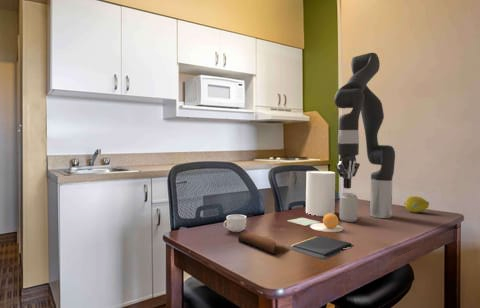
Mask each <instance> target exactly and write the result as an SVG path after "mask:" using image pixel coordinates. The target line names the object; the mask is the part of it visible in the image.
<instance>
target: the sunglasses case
mask: <svg viewBox="0 0 480 308" xmlns="http://www.w3.org/2000/svg"><path fill="white" fill-rule="evenodd" d="M237 239H238V242H242V243H245V244H247V245H248V244H249V245H252V246H255V247H257V248H258V249H261V250H263V251H265V252H269V253H271V254H273V255H274V256H278V255H281V254H284V253H287V252H290V251H292V250H290V249H289V248H287V247H288V246H286V245H284V244H282V243H280V242H279V241H277V240H276V241H275V240H274V238H273V237H270V236H267V235H264V234H261V233H258V232H254V231H241V232H239V235H238V237H237Z"/></svg>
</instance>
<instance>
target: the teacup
mask: <svg viewBox="0 0 480 308" xmlns="http://www.w3.org/2000/svg"><path fill="white" fill-rule="evenodd" d="M222 225H223V228H225V229H228V230H229V231H230V232H232V233H241V232H244V231H245V228H246V226H247V215H244V214H229V215H227V216H226V220H224V222H223V224H222Z"/></svg>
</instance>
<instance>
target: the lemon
mask: <svg viewBox="0 0 480 308" xmlns="http://www.w3.org/2000/svg"><path fill="white" fill-rule="evenodd" d="M404 205H405V208H406V209H407V210H408V211H409V212H411V213H416V214H417V213H422V212H424V211H425V210H426V209H428V208H429V206H430V202H429V201H427V200H426V199H424V198H422V197H421V196H416V195H415V196H413V195H412V196H409V197H408V198H407V199H406V201H404Z"/></svg>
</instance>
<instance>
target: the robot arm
mask: <svg viewBox="0 0 480 308" xmlns="http://www.w3.org/2000/svg"><path fill="white" fill-rule="evenodd" d="M350 65H351V66H350V67H351V72H352V75H351V77H350V78H349V79H348V81H347V82H346V83H345V84H344V85H343V86H341V87H340V88H339V89H338V90H337V91H336V92H335V95H334V98H333V101H334V104H335V106H336V107H337V108H339V109H351V111H350V112H348V113H346V114H342V115H340V116H339V118H338V134H337V155H338V156H339V161H338V163H336V164H335V165H334V167H335V169H336V170H337V173H338V176H339V177H340V178H342V179H343V188H344V189H352V179H353V178H354V177H356V174H357V173H358V170H359V167H360V164H361V163H360V162H359V163H358V162H357V158H356V156H359V154H360V153H359V149H360V146H359V144H360V133H359V124H360V123H359V122H360V121H359V120H360V115H361V119H362V123H363V129H364V135H365V145H366V155H367V159H368V161H369V163H370V164H372V165H375V166H377V165H379V166H380V169H379V170H377V171H374V172H372V173H371V174H370V197H369V198H370V202H369V203H370V204H369V206H370V207H369V216H371V217H374V218H380V219H390V218H392V216H393V176H394V173H395V160H396V153H395V152H396V151H395V148H394V147H393V146H392V145H390V144H389V145H387V144H385V145H384V144H382V145H381V144H379V139H378V136H379V135H378V134H379V132H380V131H379V130H380V129H381V126H382V124H383V121H384V117H385V116H384V115H385V113H384V107H383V103H382V101H381V100H380V98H379V97H378V96H377V95H376V94H375V93H374V92H373V91H372V90H371V89H370V88H369V87H368V83H369V82H370V81H371V80H372V79H373V77H375V75H376V74H378V72H379V70H380V66H381V63H380V58H379V56H378V54H377V53H375V52H368V53H364V54H359V55H357V56H354V57H352V59H351V62H350Z"/></svg>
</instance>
